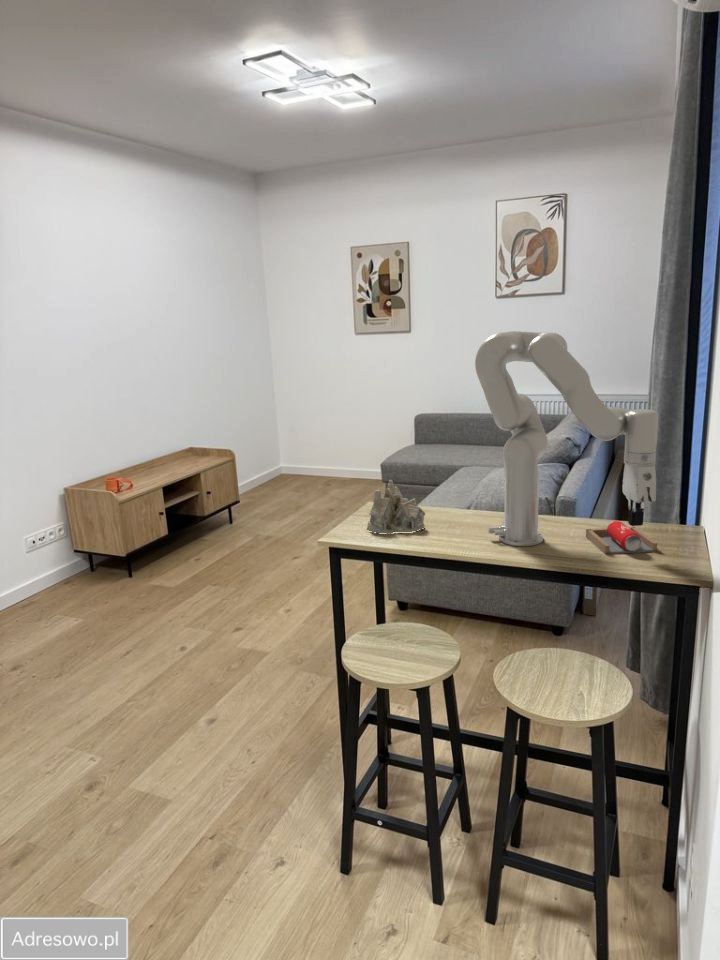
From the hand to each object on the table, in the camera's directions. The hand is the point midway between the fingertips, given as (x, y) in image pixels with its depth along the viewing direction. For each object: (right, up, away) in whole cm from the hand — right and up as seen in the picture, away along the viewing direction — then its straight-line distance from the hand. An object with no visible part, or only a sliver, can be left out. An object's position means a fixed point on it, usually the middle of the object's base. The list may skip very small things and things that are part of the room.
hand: (635, 524), depth 172 cm
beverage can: (0, -5, +2) cm, 6 cm away
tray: (0, -6, +10) cm, 12 cm away
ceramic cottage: (-62, -4, +33) cm, 70 cm away
